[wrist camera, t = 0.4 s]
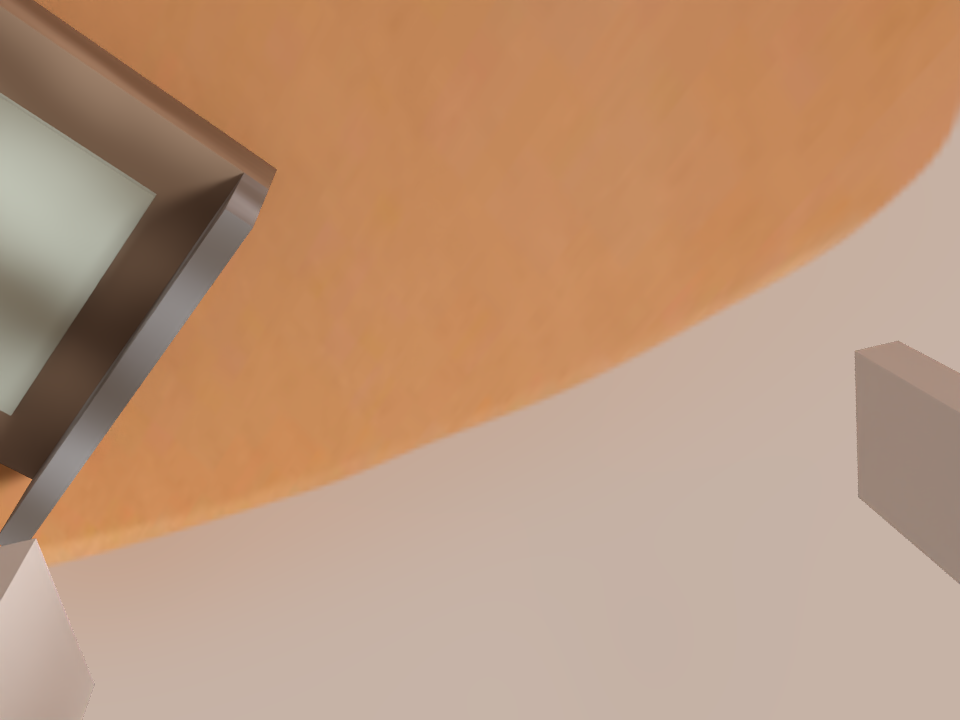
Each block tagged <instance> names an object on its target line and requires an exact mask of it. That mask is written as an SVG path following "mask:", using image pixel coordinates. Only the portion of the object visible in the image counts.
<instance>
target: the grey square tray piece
mask: <svg viewBox="0 0 960 720" xmlns="http://www.w3.org/2000/svg"><path fill="white" fill-rule="evenodd" d="M276 171H277V169H275V168H274V167H272V166H271V165H269V164H268V163H267V162H265V161H264V160H262V159H261V158H259V157H258V156H257V155H255V154H254V153H252V152H251V151H249V150H248V149H246V148H245V147H244V146H242V145H241V144H239V143H238V142H236V141H235V140H234V139H232V138H231V137H229V136H228V135H226V134H225V133H223V132H222V131H221V130H219V129H218V128H216V127H215V126H213V125H212V124H210V123H209V122H208V121H206V120H205V119H203V118H202V117H200V116H199V115H198V114H196V113H195V112H193V111H192V110H190V109H189V108H187V107H186V106H185V105H183V104H182V103H180V102H179V101H177V100H176V99H174V98H173V97H172V96H170V95H169V94H167V93H166V92H164V91H163V90H162V89H160V88H159V87H157V86H156V85H154V84H153V83H151V82H150V81H149V80H147V79H146V78H144V77H143V76H141V75H140V74H139V73H137V72H136V71H134V70H133V69H131V68H130V67H128V66H127V65H126V64H124V63H123V62H121V61H120V60H118V59H117V58H115V57H114V56H113V55H111V54H110V53H108V52H107V51H105V50H104V49H103V48H101V47H100V46H98V45H97V44H95V43H94V42H92V41H91V40H90V39H88V38H87V37H85V36H84V35H82V34H81V33H80V32H78V31H77V30H75V29H74V28H72V27H71V26H69V25H68V24H67V23H65V22H64V21H62V20H61V19H59V18H58V17H56V16H55V15H54V14H52V13H51V12H49V11H48V10H46V9H45V8H44V7H42V6H41V5H39V4H38V3H36V2H35V1H33V0H0V463H1V464H3V465H5V466H7V467H9V468H11V469H13V470H15V471H17V472H19V473H21V474H23V475H25V476H27V477H29V478H31V479H32V481H31V483H30V484H29V486H28V488H27V489H26V491H25V492H24V494H23V496H22V497H21V499H20V501H19V502H18V504H17V506H16V507H15V509H14V511H13V512H12V514H11V515H10V517H9V519H8V520H7V522H6V524H5V525H4V527H3V529H2V530H1V532H0V545H1V546H5V545H9V544H13V543H18V542H22V541H26V540H31V538H32V537H33V536H34V534H35V533H36V531H37V530H38V529H39V527H40V526H41V524H42V523H43V522H44V520H45V519H46V517H47V516H48V514H49V513H50V512H51V510H52V509H53V507H54V506H55V505H56V503H57V502H58V500H59V499H60V498H61V496H62V495H63V493H64V492H65V491H66V489H67V488H68V486H69V485H70V484H71V482H72V481H73V479H74V478H75V477H76V475H77V474H78V472H79V471H80V470H81V468H82V467H83V465H84V464H85V462H86V461H87V460H88V458H89V457H90V455H91V454H92V453H93V451H94V450H95V448H96V447H97V446H98V444H99V443H100V441H101V440H102V439H103V437H104V436H105V434H106V433H107V432H108V430H109V429H110V427H111V426H112V425H113V423H114V422H115V420H116V419H117V418H118V416H119V415H120V413H121V412H122V411H123V409H124V408H125V406H126V405H127V403H128V402H129V401H130V399H131V398H132V396H133V395H134V394H135V392H136V391H137V389H138V388H139V387H140V385H141V384H142V382H143V381H144V380H145V378H146V377H147V375H148V374H149V373H150V371H151V370H152V368H153V367H154V366H155V364H156V363H157V361H158V360H159V359H160V357H161V356H162V354H163V353H164V352H165V350H166V349H167V347H168V346H169V344H170V343H171V342H172V340H173V339H174V337H175V336H176V335H177V333H178V332H179V330H180V329H181V328H182V326H183V325H184V323H185V322H186V321H187V319H188V318H189V316H190V315H191V314H192V312H193V311H194V309H195V308H196V307H197V305H198V304H199V302H200V301H201V300H202V298H203V297H204V295H205V294H206V293H207V291H208V290H209V288H210V287H211V285H212V284H213V283H214V281H215V280H216V278H217V277H218V276H219V274H220V273H221V271H222V270H223V269H224V267H225V266H226V264H227V263H228V262H229V260H230V259H231V257H232V256H233V255H234V253H235V252H236V250H237V249H238V248H239V246H240V245H241V243H242V242H243V241H244V239H245V238H246V236H247V235H248V233H249V232H250V231H251V229H252V228H253V226H254V224H255V221H256V219H257V216H258V214H259V212H260V209H261V207H262V204H263V202H264V199H265V197H266V195H267V192H268V190H269V187H270V185H271V183H272V180H273V178H274V175H275V173H276Z"/></svg>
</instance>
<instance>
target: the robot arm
mask: <svg viewBox="0 0 960 720" xmlns="http://www.w3.org/2000/svg"><path fill="white" fill-rule="evenodd" d="M855 380H856V417H857V418H856V419H857V420H856V421H857V458H858V459H857V460H858V497H859V498H860V499H861V500H862V501H864V502H865V503H866V504H867V505H868V506H869V507H870V508H872V509H873V510H874V511H875V512H876V513H877V514H879V515H880V516H881V517H882V518H883V519H884V520H886V521H887V522H888V523H889V524H890V525H891V526H893V527H894V528H895V529H896V530H897V531H898V532H900V533H901V534H902V535H903V536H904V537H905V538H907V539H908V540H909V541H910V542H912V544H914V545H915V546H916V547H917V548H918V549H919V550H921V551H922V552H923V553H924V554H925V555H926V556H928V557H929V558H930V559H931V560H932V561H934V562H935V563H936V564H937V565H938V566H939V567H940V568H942V569H943V570H944V571H945V572H946V573H948V574H949V575H950V576H951V577H952V578H953V579H954V580H956V581H957V582H958V583H959V584H960V373H958V372H956V371H955V370H952V369H951V368H949V367H947V366H945V365H943V364H941V363H939V362H938V361H936V360H934V359H932V358H930V357H928V356H926V355H924V354H922V353H920V352H919V351H917V350H915V349H913V348H911V347H909V346H907V345H905V344H903V343H902V342H899V341H895V342H891V343H887V344H883V345H878V346H874V347H870V348H865V349H861V350H856V351H855ZM94 685H95V684H94V681H93V679H92V676H91V674H90V671H89V669H88V666H87V664H86V662H85V659H84V656H83V654H82V651H81V649H80V647H79V644H78V642H77V639H76V637H75V634H74V631H73V629H72V627H71V624H70V622H69V619H68V617H67V614H66V612H65V609H64V607H63V604H62V602H61V599H60V597H59V594H58V592H57V589H56V587H55V584H54V582H53V579H52V577H51V574H50V572H49V569H48V567H47V564H46V562H45V559H44V557H43V554H42V552H41V549H40V547H39V544H38V542H37V539H36V538H35V539H31V540H26V541H22V542H18V543H13V544H9V545H5V546H0V720H82V719H83V717H84V714H85V711H86V708H87V705H88V702H89V699H90V697H91V693H92V691H93V688H94Z"/></svg>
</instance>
